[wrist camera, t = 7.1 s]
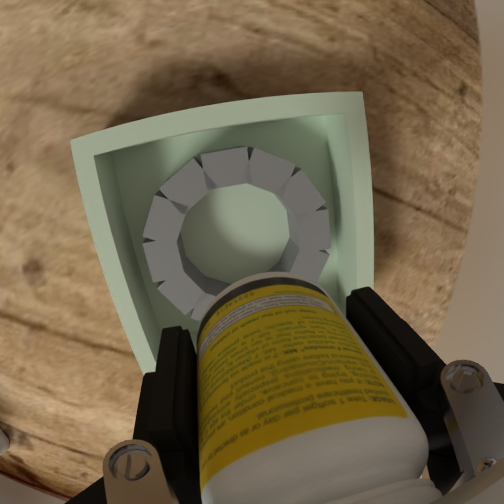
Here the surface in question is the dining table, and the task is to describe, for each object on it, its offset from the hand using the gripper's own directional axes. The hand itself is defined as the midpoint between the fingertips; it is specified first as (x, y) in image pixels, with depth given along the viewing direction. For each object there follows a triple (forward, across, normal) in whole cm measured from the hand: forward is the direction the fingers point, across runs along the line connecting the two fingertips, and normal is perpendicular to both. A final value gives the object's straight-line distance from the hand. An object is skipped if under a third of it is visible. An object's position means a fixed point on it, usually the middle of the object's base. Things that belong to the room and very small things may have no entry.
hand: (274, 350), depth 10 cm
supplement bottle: (+1, 0, 0) cm, 1 cm away
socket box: (+13, 0, 0) cm, 13 cm away
